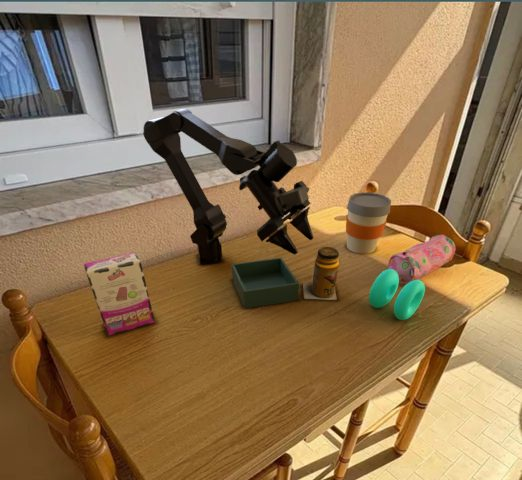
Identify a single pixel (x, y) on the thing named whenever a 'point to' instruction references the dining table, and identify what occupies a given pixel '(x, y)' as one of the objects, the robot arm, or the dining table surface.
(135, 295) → the candy bar box
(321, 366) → the dining table surface
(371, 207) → the reusable coffee cup
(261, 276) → the square tray
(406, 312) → the donuts
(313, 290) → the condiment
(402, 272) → the pencil case
